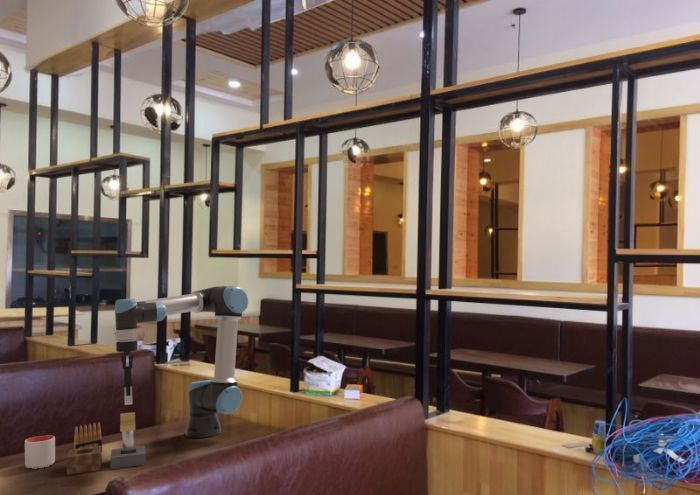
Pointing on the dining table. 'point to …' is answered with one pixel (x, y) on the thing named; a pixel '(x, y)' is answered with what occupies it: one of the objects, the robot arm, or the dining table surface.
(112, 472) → the dining table surface
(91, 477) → the dining table surface
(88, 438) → the ammunition clip
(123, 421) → the latch
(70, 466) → the frame
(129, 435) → the peg
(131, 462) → the socket block
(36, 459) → the cup
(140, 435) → the dining table surface
